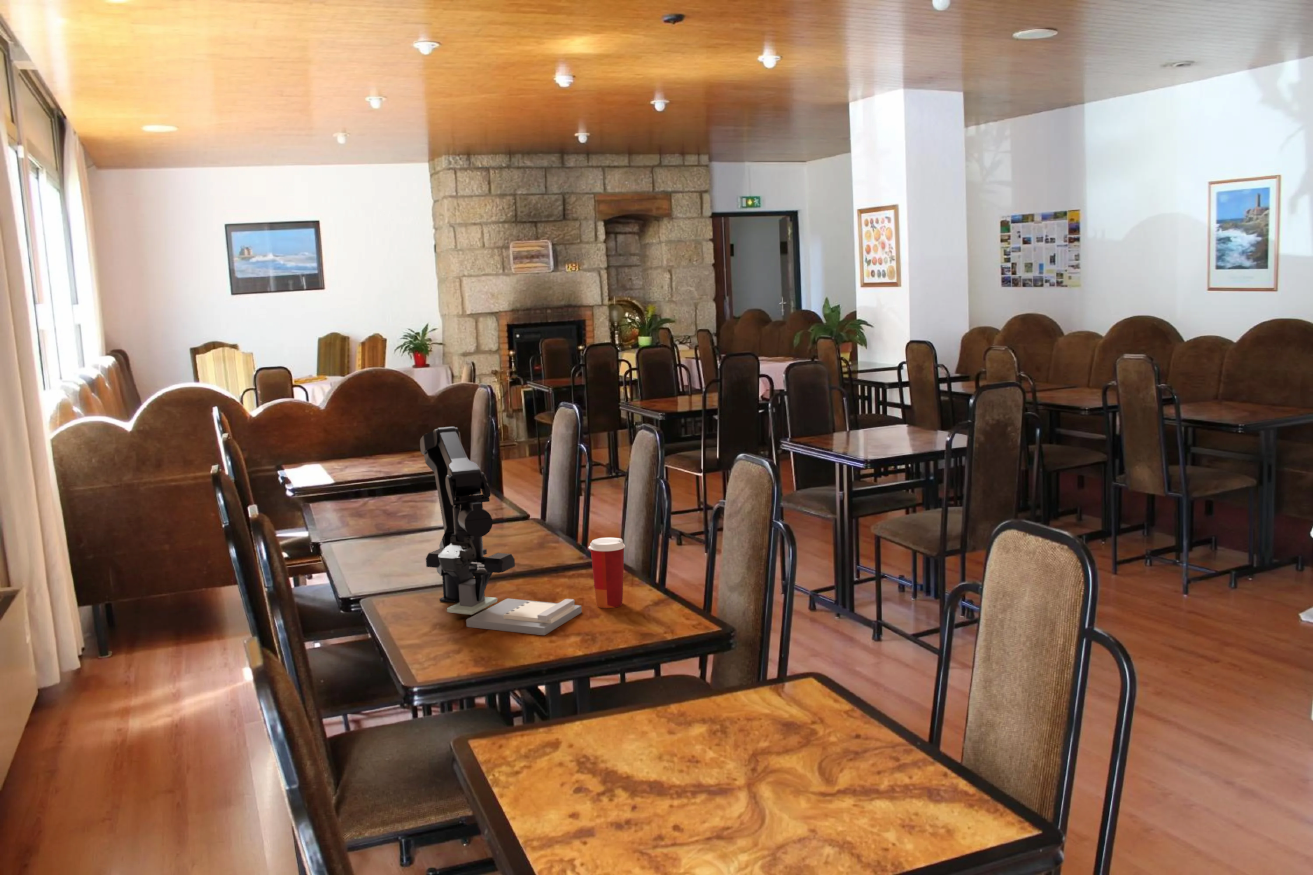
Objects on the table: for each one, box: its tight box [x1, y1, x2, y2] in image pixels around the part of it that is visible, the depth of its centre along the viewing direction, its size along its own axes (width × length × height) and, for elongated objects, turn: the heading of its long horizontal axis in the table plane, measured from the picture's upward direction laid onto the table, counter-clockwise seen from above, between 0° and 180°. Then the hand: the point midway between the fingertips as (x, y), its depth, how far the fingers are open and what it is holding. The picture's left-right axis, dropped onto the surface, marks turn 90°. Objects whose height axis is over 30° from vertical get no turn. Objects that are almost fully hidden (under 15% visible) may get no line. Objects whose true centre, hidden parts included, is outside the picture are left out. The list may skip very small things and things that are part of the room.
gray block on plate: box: [446, 579, 498, 616], centre depth 233 cm, size 6×10×5 cm, turn 157°
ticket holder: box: [465, 597, 582, 636], centre depth 228 cm, size 18×16×3 cm
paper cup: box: [588, 536, 626, 609], centre depth 236 cm, size 8×8×14 cm
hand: (472, 600), depth 233 cm, fingers closed on gray block on plate, 3 cm apart
